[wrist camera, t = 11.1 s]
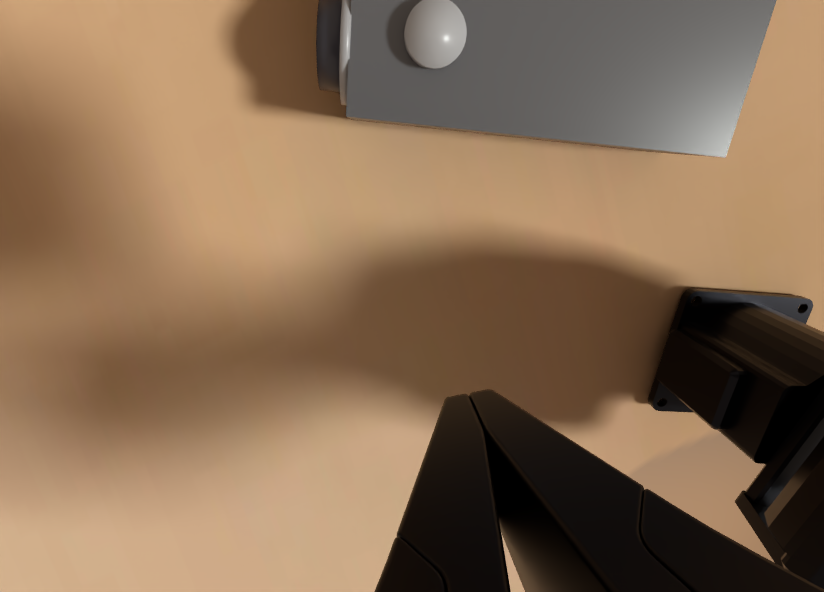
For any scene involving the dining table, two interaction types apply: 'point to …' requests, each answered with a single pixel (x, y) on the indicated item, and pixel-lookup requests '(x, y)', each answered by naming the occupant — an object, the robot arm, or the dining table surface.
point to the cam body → (548, 67)
